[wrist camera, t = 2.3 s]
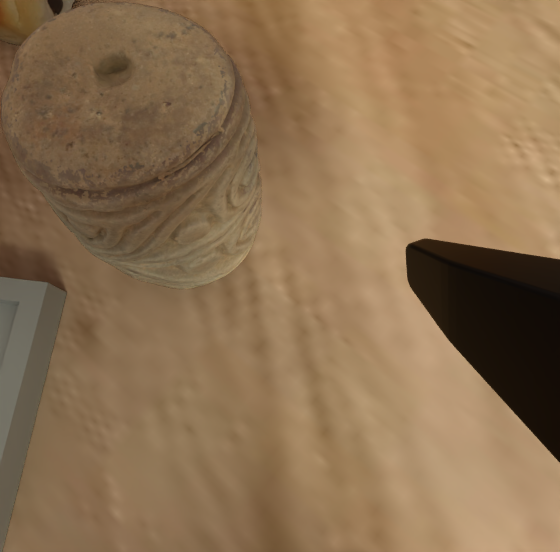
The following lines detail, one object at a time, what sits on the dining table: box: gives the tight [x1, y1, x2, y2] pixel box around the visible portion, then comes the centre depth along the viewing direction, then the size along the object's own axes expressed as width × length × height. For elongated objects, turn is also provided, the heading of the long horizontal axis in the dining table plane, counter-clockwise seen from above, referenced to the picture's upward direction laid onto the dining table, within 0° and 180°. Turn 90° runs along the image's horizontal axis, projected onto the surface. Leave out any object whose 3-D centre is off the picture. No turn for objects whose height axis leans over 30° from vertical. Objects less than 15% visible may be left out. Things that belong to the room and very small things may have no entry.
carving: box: [1, 2, 262, 289], centre depth 17 cm, size 6×8×12 cm
